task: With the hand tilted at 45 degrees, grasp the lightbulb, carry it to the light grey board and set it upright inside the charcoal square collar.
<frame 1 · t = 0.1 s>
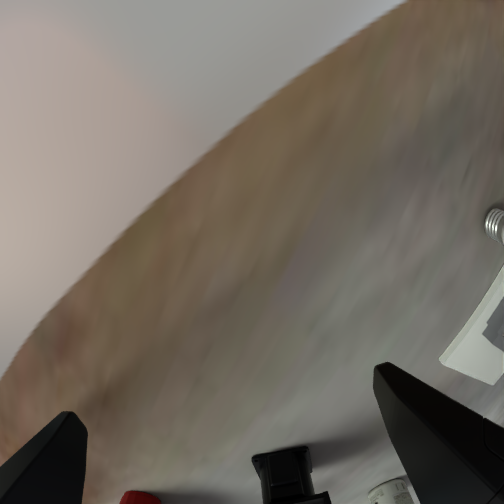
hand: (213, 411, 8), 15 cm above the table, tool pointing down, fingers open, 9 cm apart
spray can: (385, 486, 39), on the table
plastic cup: (143, 497, 35), on the table
lightbulb: (487, 220, 23), on the table
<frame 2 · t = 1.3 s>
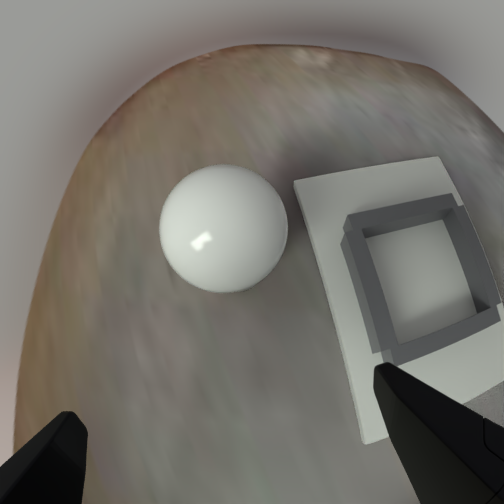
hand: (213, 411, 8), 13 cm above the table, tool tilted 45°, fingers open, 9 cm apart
lightbulb: (242, 276, 23), on the table
bulb holder: (415, 282, 22), on the table
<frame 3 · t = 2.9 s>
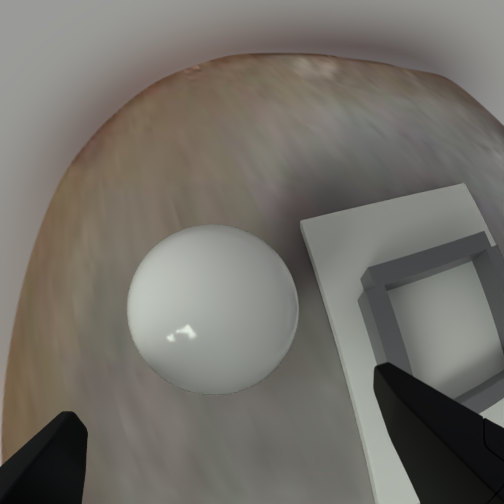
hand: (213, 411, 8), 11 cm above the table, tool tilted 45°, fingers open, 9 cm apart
lightbulb: (240, 340, 19), on the table
bulb holder: (442, 337, 17), on the table
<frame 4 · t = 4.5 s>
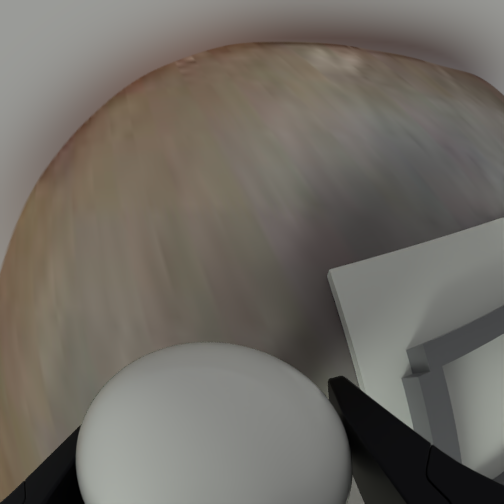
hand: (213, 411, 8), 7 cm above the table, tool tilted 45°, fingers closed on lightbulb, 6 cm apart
lightbulb: (248, 426, 14), on the table, touching gripper
bulb holder: (490, 408, 12), on the table
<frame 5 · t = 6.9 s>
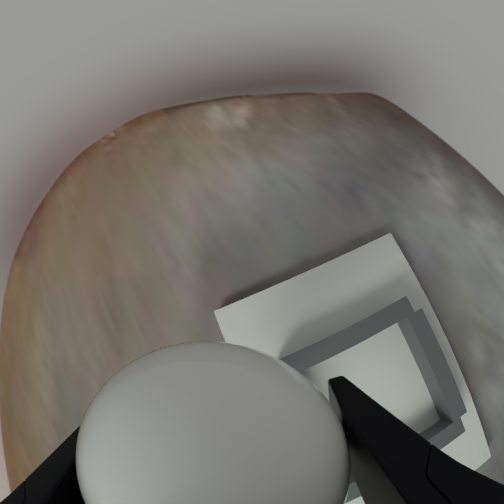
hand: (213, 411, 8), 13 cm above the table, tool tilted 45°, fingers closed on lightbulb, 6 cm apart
lightbulb: (246, 425, 14), point 6 cm above the table, touching gripper
bulb holder: (367, 401, 19), on the table
when the fingers open (8 cm above the table, at t = 9.5 s): lightbulb stays where it is, resting on bulb holder.
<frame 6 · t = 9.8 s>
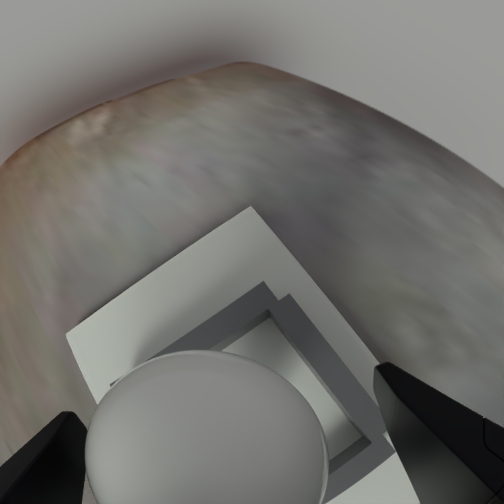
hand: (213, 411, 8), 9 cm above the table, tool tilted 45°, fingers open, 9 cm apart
lightbulb: (244, 427, 14), point 1 cm above the table, touching bulb holder
bulb holder: (252, 421, 15), on the table
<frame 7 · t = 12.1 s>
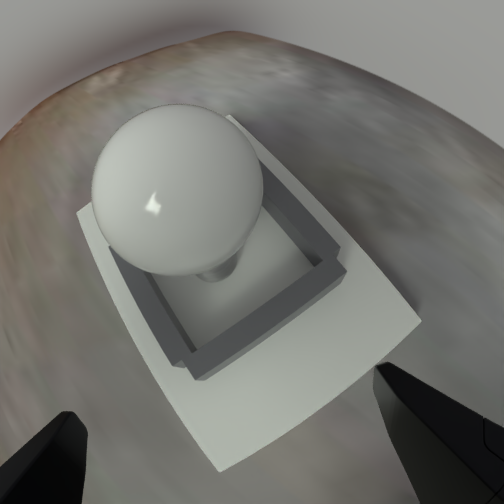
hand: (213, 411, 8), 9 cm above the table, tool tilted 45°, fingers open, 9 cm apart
lightbulb: (216, 264, 19), point 1 cm above the table, touching bulb holder
bulb holder: (224, 266, 20), on the table
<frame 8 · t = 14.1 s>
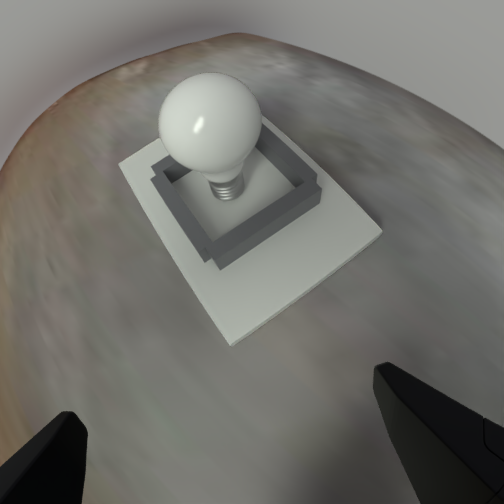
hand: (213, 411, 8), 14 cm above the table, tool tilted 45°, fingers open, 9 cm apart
lightbulb: (229, 192, 26), point 1 cm above the table, touching bulb holder
bulb holder: (235, 196, 27), on the table
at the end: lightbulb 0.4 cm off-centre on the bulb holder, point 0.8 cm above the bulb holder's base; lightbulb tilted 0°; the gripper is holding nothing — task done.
